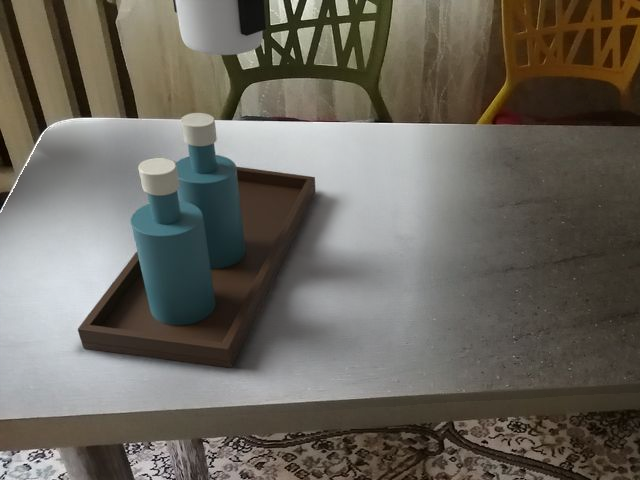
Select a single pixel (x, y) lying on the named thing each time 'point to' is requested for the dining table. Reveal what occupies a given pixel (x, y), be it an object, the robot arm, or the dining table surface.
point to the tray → (229, 283)
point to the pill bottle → (214, 27)
